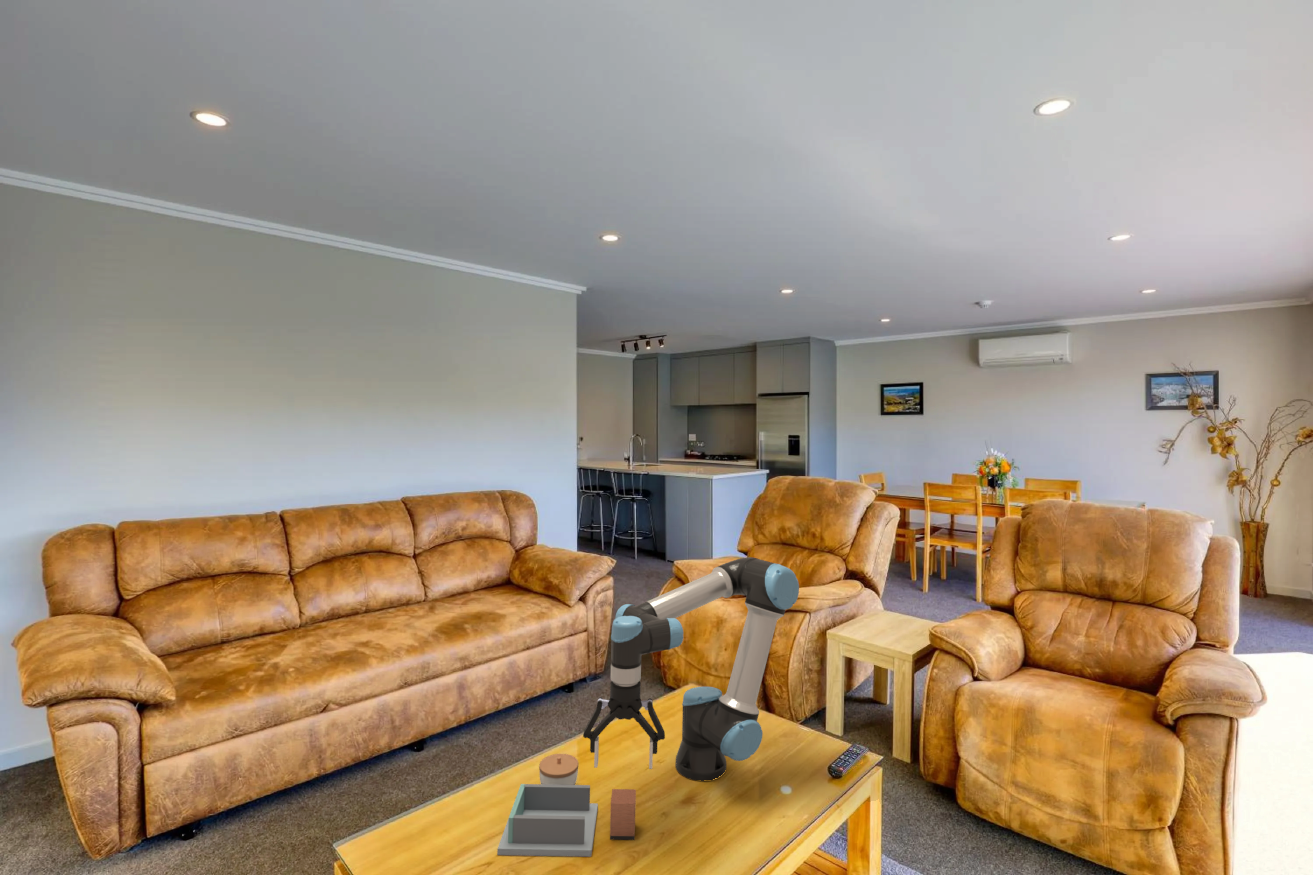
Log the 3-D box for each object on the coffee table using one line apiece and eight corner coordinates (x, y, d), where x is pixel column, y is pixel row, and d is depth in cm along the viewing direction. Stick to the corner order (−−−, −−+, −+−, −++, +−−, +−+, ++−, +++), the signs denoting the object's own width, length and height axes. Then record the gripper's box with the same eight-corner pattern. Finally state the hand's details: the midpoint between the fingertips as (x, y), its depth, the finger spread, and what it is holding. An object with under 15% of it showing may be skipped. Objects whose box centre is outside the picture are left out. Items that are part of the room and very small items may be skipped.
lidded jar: (570, 805, 163) (571, 770, 163) (532, 799, 165) (533, 765, 165) (582, 782, 173) (583, 750, 173) (547, 777, 176) (548, 745, 175)
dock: (597, 808, 162) (598, 780, 162) (591, 856, 144) (591, 824, 144) (514, 807, 161) (514, 779, 161) (497, 854, 143) (498, 823, 143)
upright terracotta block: (635, 824, 156) (635, 789, 156) (634, 840, 150) (635, 803, 150) (611, 823, 156) (612, 788, 156) (609, 839, 150) (610, 803, 150)
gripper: (675, 675, 156) (672, 758, 156) (577, 673, 156) (575, 755, 156) (676, 688, 149) (673, 774, 149) (573, 685, 149) (571, 772, 149)
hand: (623, 765), depth 153 cm, fingers open, 13 cm apart
